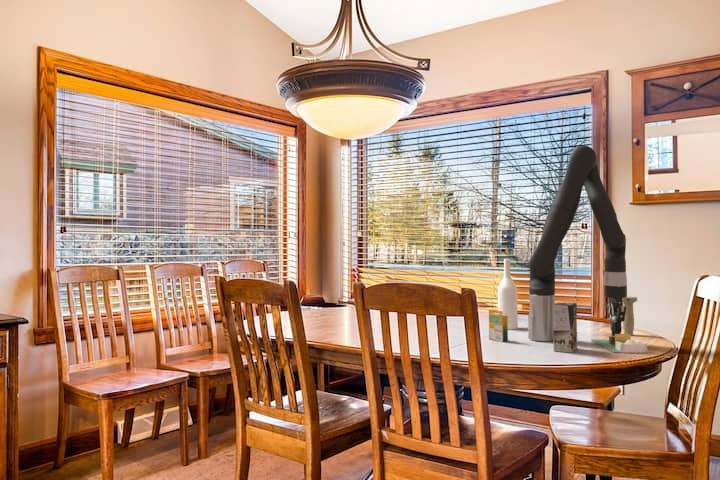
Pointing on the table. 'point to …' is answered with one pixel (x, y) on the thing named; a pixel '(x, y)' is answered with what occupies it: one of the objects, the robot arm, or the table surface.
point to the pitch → (608, 345)
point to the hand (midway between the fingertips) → (616, 331)
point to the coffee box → (565, 327)
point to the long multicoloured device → (619, 334)
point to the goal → (631, 347)
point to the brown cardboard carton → (611, 340)
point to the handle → (629, 315)
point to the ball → (630, 342)
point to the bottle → (508, 297)
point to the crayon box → (498, 326)
